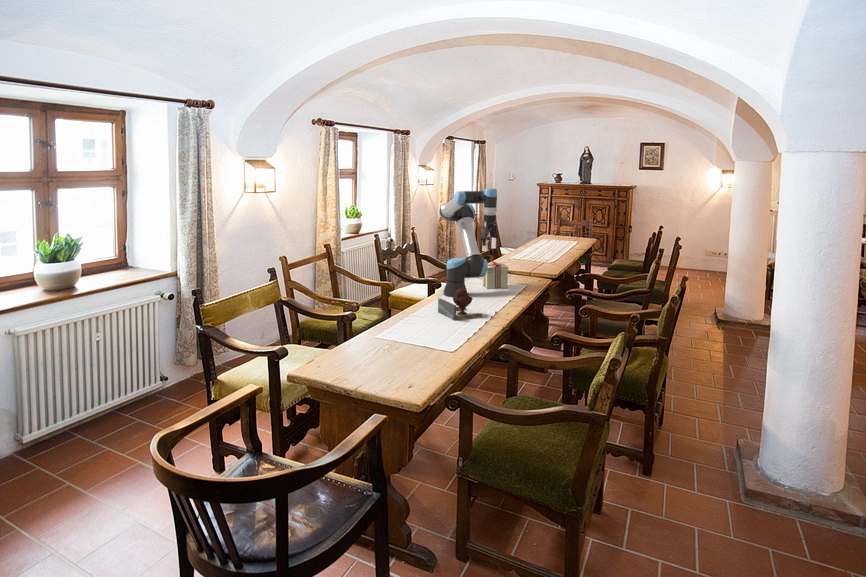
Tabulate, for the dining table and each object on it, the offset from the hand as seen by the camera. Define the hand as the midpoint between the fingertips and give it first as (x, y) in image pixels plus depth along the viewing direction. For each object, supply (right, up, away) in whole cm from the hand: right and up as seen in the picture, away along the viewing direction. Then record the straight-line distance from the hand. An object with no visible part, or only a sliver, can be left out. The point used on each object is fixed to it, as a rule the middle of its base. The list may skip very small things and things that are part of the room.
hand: (489, 249), depth 361 cm
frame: (-18, -38, -27) cm, 50 cm away
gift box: (+7, -23, +48) cm, 53 cm away
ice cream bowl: (-18, -38, -27) cm, 50 cm away
